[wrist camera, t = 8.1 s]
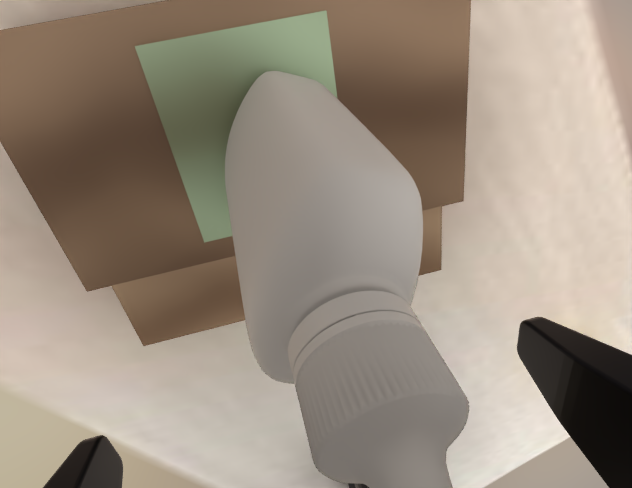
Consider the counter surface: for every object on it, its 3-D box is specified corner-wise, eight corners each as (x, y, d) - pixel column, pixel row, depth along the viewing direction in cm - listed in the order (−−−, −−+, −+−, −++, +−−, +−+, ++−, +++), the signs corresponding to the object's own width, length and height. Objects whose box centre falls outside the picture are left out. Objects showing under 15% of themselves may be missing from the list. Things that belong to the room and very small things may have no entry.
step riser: (425, 251, 23) (461, 292, 20) (149, 320, 22) (135, 378, 18) (420, -39, 16) (475, -55, 12) (8, 35, 15) (-62, 40, 11)
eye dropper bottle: (369, 132, 14) (696, 459, 5) (269, 236, 16) (379, 635, 7) (281, 42, 12) (601, 353, 3) (173, 175, 14) (134, 669, 4)
